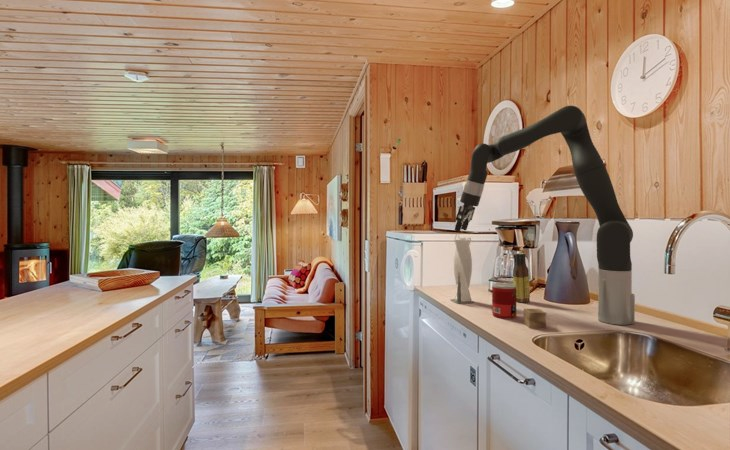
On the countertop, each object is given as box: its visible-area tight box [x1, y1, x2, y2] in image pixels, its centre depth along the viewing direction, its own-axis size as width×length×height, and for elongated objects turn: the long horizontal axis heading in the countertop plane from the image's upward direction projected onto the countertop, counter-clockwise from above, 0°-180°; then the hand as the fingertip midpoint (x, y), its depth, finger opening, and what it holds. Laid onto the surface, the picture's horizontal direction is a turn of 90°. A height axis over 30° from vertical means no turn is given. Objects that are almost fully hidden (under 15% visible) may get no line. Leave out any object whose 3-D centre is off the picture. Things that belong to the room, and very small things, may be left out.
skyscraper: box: [449, 233, 475, 305], centre depth 159 cm, size 8×8×28 cm
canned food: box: [491, 282, 517, 320], centre depth 135 cm, size 8×8×11 cm
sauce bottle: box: [512, 252, 531, 304], centre depth 158 cm, size 7×6×20 cm
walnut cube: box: [523, 308, 547, 329], centre depth 123 cm, size 5×5×5 cm
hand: (460, 230), depth 161 cm, fingers open, 8 cm apart
